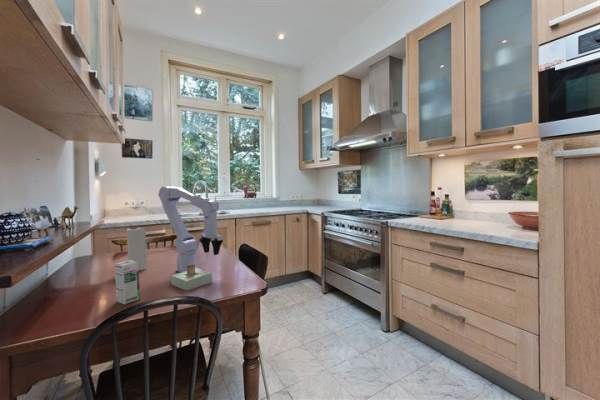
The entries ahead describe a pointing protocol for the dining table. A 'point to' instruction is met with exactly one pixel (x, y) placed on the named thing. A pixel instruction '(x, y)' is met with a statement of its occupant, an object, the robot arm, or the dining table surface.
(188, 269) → the dowel
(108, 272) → the dining table surface
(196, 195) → the robot arm
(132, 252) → the tall grey box
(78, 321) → the dining table surface
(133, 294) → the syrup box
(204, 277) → the socket block
